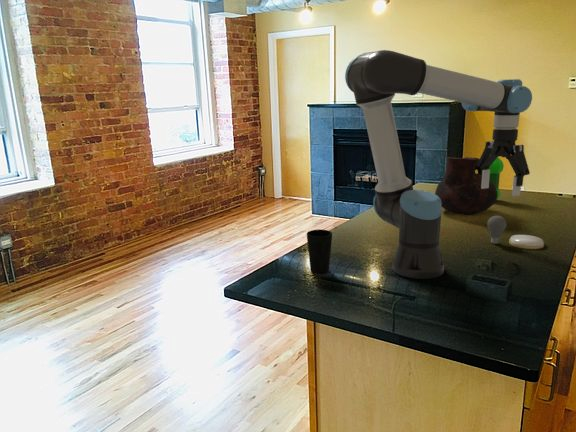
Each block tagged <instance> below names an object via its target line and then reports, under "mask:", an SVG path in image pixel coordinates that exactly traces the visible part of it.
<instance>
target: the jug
mask: <svg viewBox="0 0 576 432" xmlns="http://www.w3.org/2000/svg"><path fill="white" fill-rule="evenodd" d="M445 158H446V159H445V160H446V167H445V171H444V175H443V179H441V181H440V182H439V183H437V186H436V188H435V192H434V194H436V195H437V196H438V197H439V198H440V199H441V206H442V209H444V210H445V211H448V212H449V213H452V214H455V215H462V216H474V215H478V214H480V213H481V214H482V213H484V212H485V211H488V209H490V208H491V207H492V206H494V204H495V203H496V202H497V196H498V193H497V189H496V187H495V185H494V184H493V182H492V181H490V180H489V188H485V189H482V188H481V183H482V178H481V168H480V167H477V164H478V162H479V159H480V158H479V157H468V156H467V157H449V156H446V157H445ZM476 171H477V173H476Z"/></svg>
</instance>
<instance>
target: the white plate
mask: <svg viewBox="0 0 576 432" xmlns="http://www.w3.org/2000/svg"><path fill="white" fill-rule="evenodd" d="M508 243H509V245H510V246H513V247H516V248H518V249H525V250H540V249H543V248H544V247H545V242H544V239H543V238H541V237H538V236H536V235H535V236H534V235H528V234H514V235H511V236H510V238H509V240H508Z"/></svg>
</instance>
